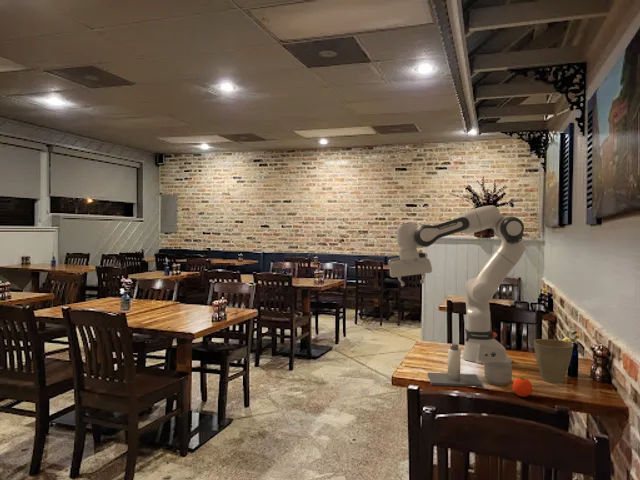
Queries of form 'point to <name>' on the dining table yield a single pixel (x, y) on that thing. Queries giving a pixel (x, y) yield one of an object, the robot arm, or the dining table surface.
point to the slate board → (464, 380)
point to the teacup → (498, 372)
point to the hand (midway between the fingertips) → (412, 284)
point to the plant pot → (553, 358)
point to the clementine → (522, 387)
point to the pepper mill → (454, 362)
